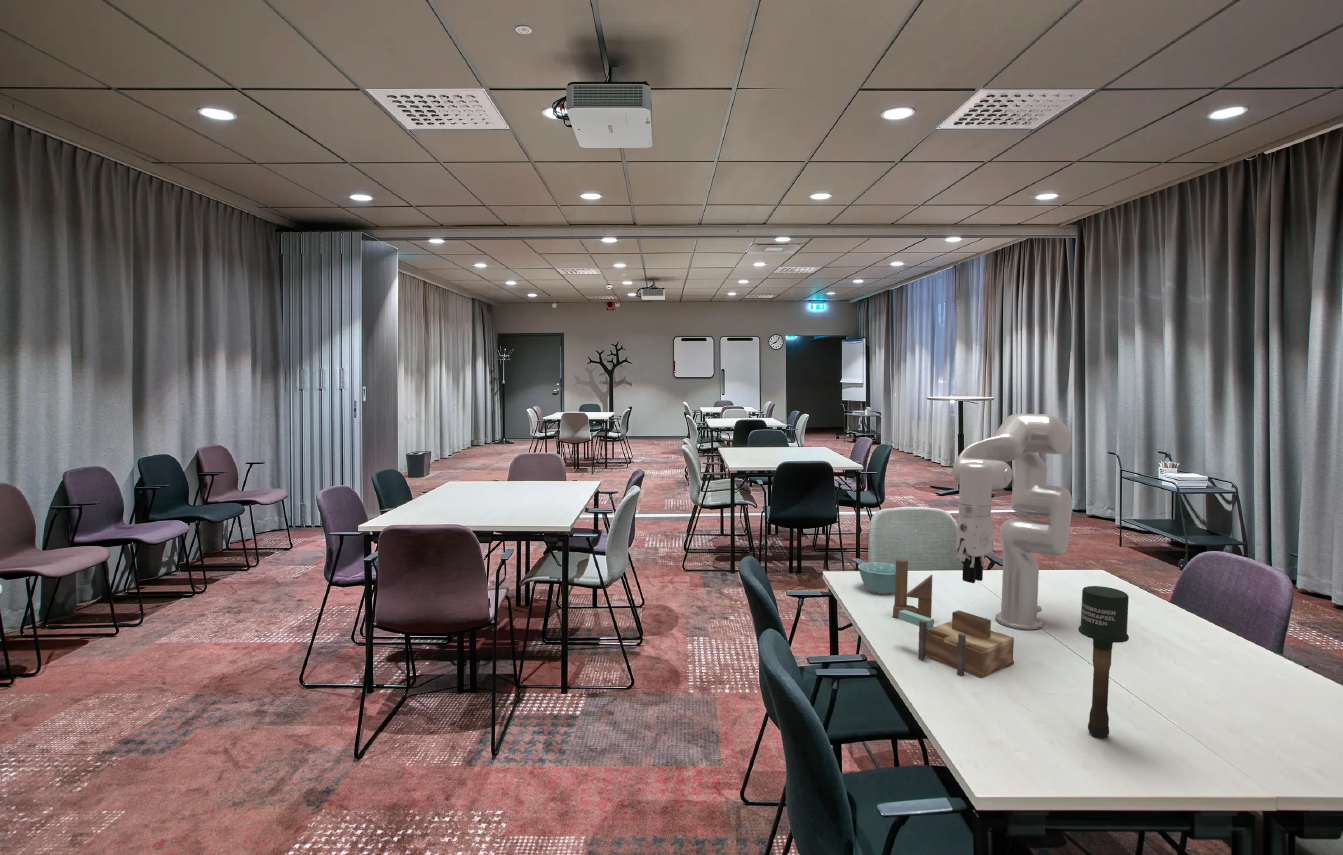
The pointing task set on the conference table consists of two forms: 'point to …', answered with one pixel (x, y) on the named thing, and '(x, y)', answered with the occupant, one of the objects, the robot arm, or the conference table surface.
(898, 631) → the conference table surface
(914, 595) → the brown wooden block structure
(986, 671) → the wooden box
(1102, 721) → the stick grenade
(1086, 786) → the conference table surface
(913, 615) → the teal rectangular bar
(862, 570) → the bowl
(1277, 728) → the conference table surface
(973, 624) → the lid
